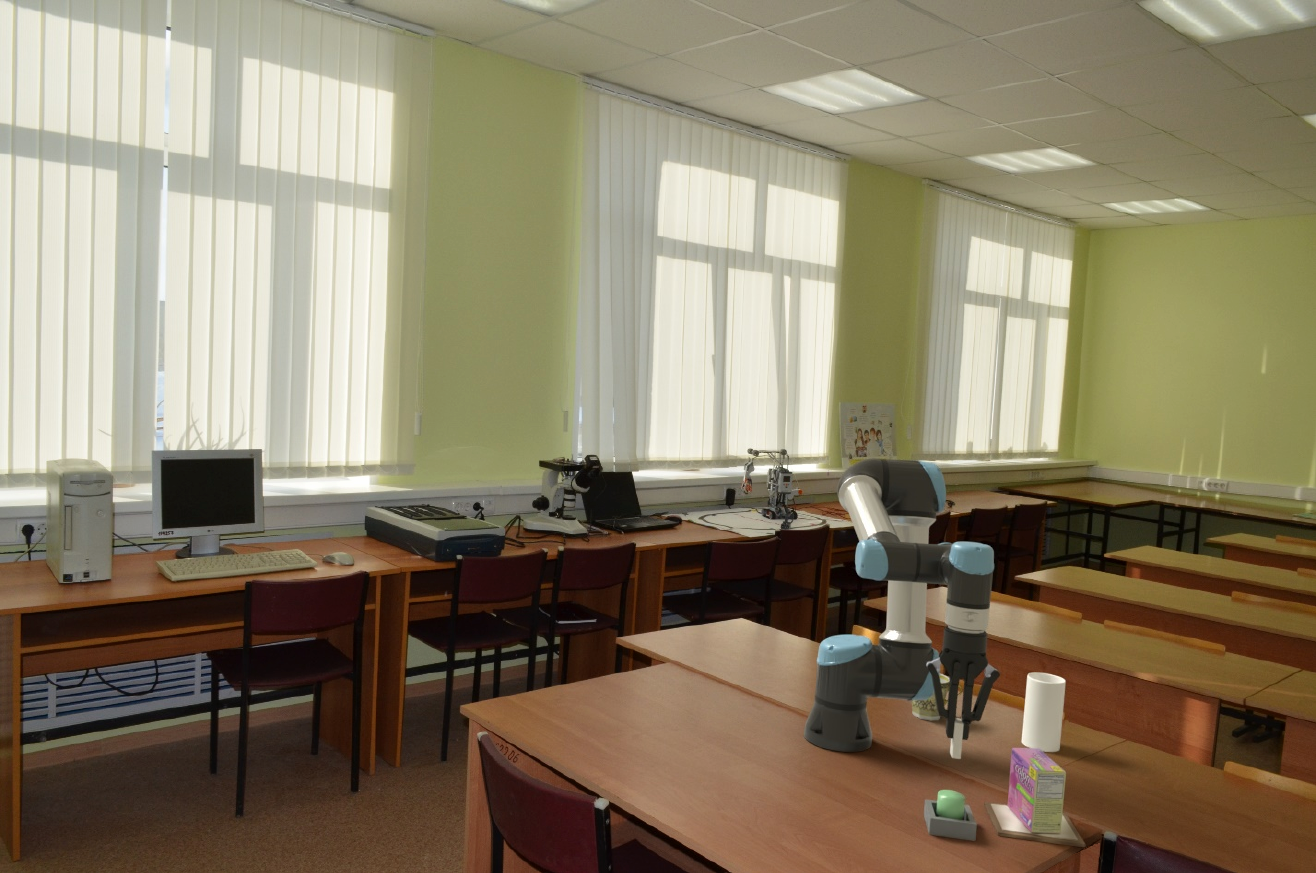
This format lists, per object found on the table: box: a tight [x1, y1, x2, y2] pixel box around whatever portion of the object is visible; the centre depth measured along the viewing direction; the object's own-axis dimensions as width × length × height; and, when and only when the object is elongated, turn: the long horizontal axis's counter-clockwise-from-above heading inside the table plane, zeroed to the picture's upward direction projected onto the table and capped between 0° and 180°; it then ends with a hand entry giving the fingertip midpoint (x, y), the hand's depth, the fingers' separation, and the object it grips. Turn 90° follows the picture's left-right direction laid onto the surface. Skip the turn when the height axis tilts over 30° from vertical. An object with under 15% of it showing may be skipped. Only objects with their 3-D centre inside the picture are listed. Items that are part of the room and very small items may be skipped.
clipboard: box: [984, 801, 1086, 848], centre depth 172 cm, size 15×13×1 cm
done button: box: [936, 789, 966, 820], centre depth 169 cm, size 5×5×4 cm
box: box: [1007, 747, 1067, 833], centre depth 172 cm, size 10×6×12 cm, turn 3°
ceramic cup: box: [911, 673, 963, 721], centre depth 229 cm, size 13×10×10 cm
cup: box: [1021, 672, 1067, 753], centre depth 214 cm, size 8×8×16 cm
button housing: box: [923, 799, 978, 842], centre depth 169 cm, size 8×8×3 cm
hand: (955, 755), depth 168 cm, fingers closed
